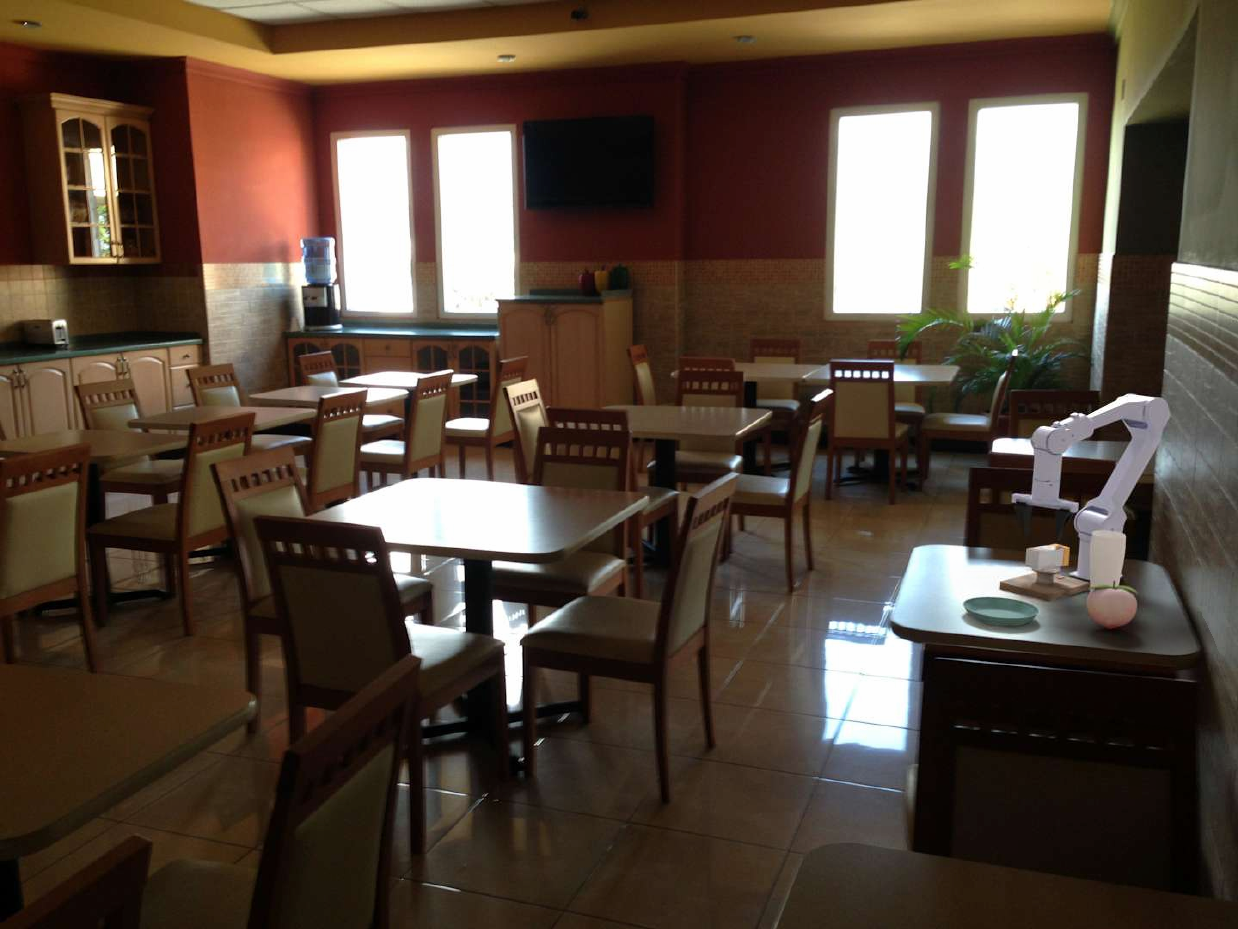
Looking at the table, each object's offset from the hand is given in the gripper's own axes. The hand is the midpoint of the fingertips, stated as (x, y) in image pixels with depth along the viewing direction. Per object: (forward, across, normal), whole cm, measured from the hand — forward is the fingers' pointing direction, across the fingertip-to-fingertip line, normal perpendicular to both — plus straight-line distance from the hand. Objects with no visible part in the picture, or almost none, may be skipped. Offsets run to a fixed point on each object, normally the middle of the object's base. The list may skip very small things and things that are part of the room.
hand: (1041, 537), depth 236 cm
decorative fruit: (+11, +25, -22) cm, 35 cm away
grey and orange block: (+6, +3, -4) cm, 8 cm away
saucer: (+11, +6, -31) cm, 34 cm away
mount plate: (+10, +3, -4) cm, 12 cm away
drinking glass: (+11, +16, -4) cm, 20 cm away
